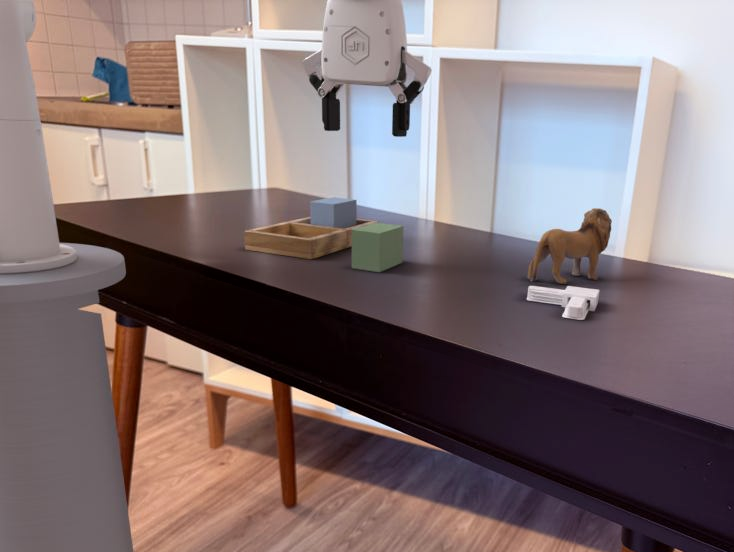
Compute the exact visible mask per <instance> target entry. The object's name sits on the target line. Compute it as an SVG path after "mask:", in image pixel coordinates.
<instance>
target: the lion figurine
mask: <svg viewBox="0 0 734 552" xmlns="http://www.w3.org/2000/svg"><path fill="white" fill-rule="evenodd" d="M612 221H613V220H612V218H611V217H610V215H609V213H608V212H607V210H605V209H603V208H597V207H596V208H591V210H587V211H586V212H585V213H584V214H583V221H582V222H581V226H580V227H579V229H578V230H571V231H569V230H568V231H567V230H564V229H561V228H552V229H550V230H547V231H545V232H544V233H543V234H542V236H541V237H540V240H539V242H538V244H537V247H536V251H535V254H534V258H533V259H532V260H531V261H530V263H529V266H528V271H527V279H528V280H529V281H530V282H532V283H533V282H536V281H537V280H538V276H537V275H538V267H539V265H540V264H541V263H543V261H545V260H546V259H547V258H548V256H549V255H550V258H551V260H552V269H551V274H552V276H553V277H554V279H555V280H556V283H558V284H561V285H565V284H566V285H567V283H568V280H567V279H566V278H564V277H563V276H561V267H562V265H563V262H564V261H565V258H566V259H569V260H573V265H572V268H571V275H572V276H574V277H575V276H576V277H578V276H581V274H582V273H581V261H582V258H588V261H589V262H588V263H589V266H588V269H587V278H588V279H589V280H595V281H596V280H598V276H597V275H596V274H595V272H596V269H597V265H598V262H599V257H600V256H599V255H601V254H602V253H603V252H604V251H606V249H607V248H608V246H609V240H610V238H611V232H612Z"/></svg>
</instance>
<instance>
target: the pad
mask: <svg viewBox="0 0 734 552" xmlns="http://www.w3.org/2000/svg"><path fill="white" fill-rule="evenodd" d="M403 255H404V225H399V224H393V223H392V224H391V223H383V222H379V223H374V224H370V225H366V226H363V227H359V228H356V229H352V246H351V269H354V270H360V271H367V272H374V273H381V272H383V271H386V270H389V269H390V268H391V269H392V268H393V267H396V266H398V265H400V264H403Z"/></svg>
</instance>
